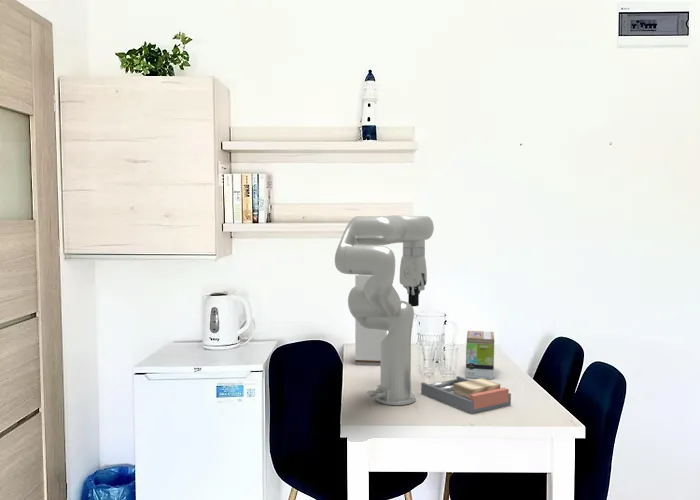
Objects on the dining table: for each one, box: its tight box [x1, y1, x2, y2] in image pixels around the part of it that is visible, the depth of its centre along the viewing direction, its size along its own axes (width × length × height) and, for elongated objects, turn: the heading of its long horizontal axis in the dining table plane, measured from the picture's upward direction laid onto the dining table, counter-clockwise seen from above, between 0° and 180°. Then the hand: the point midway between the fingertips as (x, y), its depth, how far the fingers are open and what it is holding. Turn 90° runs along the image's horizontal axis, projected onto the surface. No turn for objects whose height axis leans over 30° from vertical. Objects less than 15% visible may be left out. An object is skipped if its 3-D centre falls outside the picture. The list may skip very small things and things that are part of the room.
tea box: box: [465, 330, 495, 380], centre depth 228 cm, size 15×10×15 cm
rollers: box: [428, 379, 470, 400], centre depth 198 cm, size 12×22×2 cm, turn 31°
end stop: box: [470, 387, 510, 409], centre depth 188 cm, size 14×2×4 cm, turn 121°
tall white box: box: [354, 274, 388, 367], centre depth 245 cm, size 11×11×35 cm
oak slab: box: [453, 378, 501, 399], centre depth 192 cm, size 12×8×3 cm, turn 121°
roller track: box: [420, 375, 512, 415], centre depth 197 cm, size 16×24×4 cm, turn 31°
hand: (413, 305), depth 214 cm, fingers closed
